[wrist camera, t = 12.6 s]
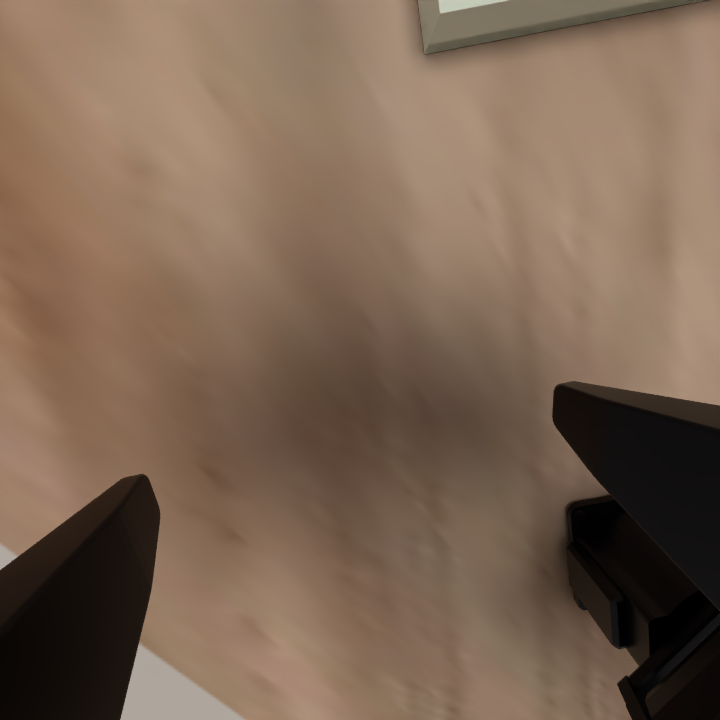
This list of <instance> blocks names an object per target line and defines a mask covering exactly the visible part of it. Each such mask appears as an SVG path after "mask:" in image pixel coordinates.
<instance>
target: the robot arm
mask: <svg viewBox="0 0 720 720" xmlns="http://www.w3.org/2000/svg"><path fill="white" fill-rule="evenodd" d="M552 417H553V422H554V425H555V427H556V428H557V429H558V431H559V432H560V433H561V435H562V436H563V437H564V439H565V440H566V441H567V442H568V444H569V445H570V446H571V448H572V449H573V450H574V452H575V453H576V454H577V455H578V457H579V458H580V459H581V461H582V462H583V463H584V465H585V466H586V467H587V468H588V470H589V471H590V472H591V473H592V475H593V476H594V477H595V478H596V479H597V480H598V482H599V483H600V484H601V485H602V486H603V487H604V488H605V489H606V490H607V491H608V492H609V493H610V495H611V496H608V497H602V498H597V499H591V500H586V501H581V502H575V503H573V504H571V505H570V506H569V507H568V509H567V519H568V530H569V543H568V545H567V547H566V550H567V562H568V573H569V584H570V586H571V588H572V589H573V590H574V599H575V602H576V603H577V605H578V606H579V607H580V608H581V609H582V610H588V612H589V613H590V615H591V616H592V617H593V619H594V620H595V622H596V623H597V624H598V626H599V627H600V629H601V630H602V632H603V633H604V634H605V636H606V637H607V639H608V640H609V642H610V643H611V644H612V645H613V646H614V647H616V648H617V649H623V648H626V649H627V650H628V652H629V653H630V655H631V656H632V657H633V659H634V660H635V661H636V663H637V664H638V665H639V667H638V668H637V669H636V670H635V671H634V672H633V673H632V674H631V675H630V676H629V677H628V676H625V677H624V678H623V679H622V680H621V681H620V682H619V683H618V684H617V685H618V687H619V690H620V692H621V694H622V696H623V698H624V701H625V703H626V707H627V709H628V712H629V714H630V716H631V718H632V720H720V406H719V405H713V404H707V403H701V402H695V401H689V400H683V399H677V398H671V397H665V396H659V395H653V394H647V393H641V392H635V391H629V390H623V389H617V388H611V387H605V386H599V385H593V384H587V383H582V382H576V381H572V382H567V383H562V384H558V385H557V386H556V387H555V389H554V395H553V413H552ZM578 511H581V512H580V513H579V514H578V515H576V513H577V512H578ZM159 525H160V509H159V505H158V502H157V500H156V497H155V494H154V491H153V489H152V486H151V483H150V481H149V478H148V477H147V476H146V475H144V474H139V475H134V476H129V477H125V478H122V479H121V480H120V481H118V482H117V483H116V484H114V485H113V486H112V487H110V488H109V489H108V490H106V491H105V492H104V493H102V494H101V495H100V496H98V497H97V498H96V499H94V500H93V501H92V502H90V503H89V504H88V505H86V506H85V507H84V508H82V509H81V510H80V511H78V512H77V513H76V514H74V515H73V516H72V517H70V518H69V519H68V520H66V521H65V522H64V523H62V524H61V525H60V526H58V527H57V528H56V529H54V530H53V531H52V532H50V533H49V534H48V535H46V536H45V537H44V538H42V539H41V540H40V541H38V542H37V543H36V544H34V545H33V546H32V547H30V548H29V549H28V550H26V551H25V552H24V553H22V554H21V555H20V556H18V557H17V558H16V559H14V560H13V561H12V562H11V563H9V564H8V565H6V566H5V567H4V568H2V569H1V570H0V720H120V718H121V714H122V710H123V706H124V702H125V698H126V693H127V689H128V685H129V681H130V677H131V673H132V668H133V665H134V660H135V657H136V652H137V648H138V644H139V640H140V636H141V632H142V628H143V624H144V619H145V615H146V611H147V607H148V603H149V598H150V594H151V589H152V582H153V575H154V566H155V558H156V550H157V541H158V533H159Z"/></svg>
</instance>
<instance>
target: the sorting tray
mask: <svg viewBox="0 0 720 720" xmlns="http://www.w3.org/2000/svg"><path fill="white" fill-rule="evenodd" d="M700 1H705V0H418V8H419V15H420V23H421V30H422V38H423V45H424V53H425V54H429V53H435V52H440V51H445V50H450V49H456V48H461V47H466V46H471V45H476V44H482V43H487V42H492V41H497V40H502V39H508V38H513V37H518V36H523V35H528V34H534V33H539V32H544V31H549V30H554V29H560V28H565V27H570V26H575V25H580V24H586V23H591V22H596V21H601V20H606V19H612V18H617V17H622V16H627V15H632V14H638V13H643V12H648V11H653V10H659V9H664V8H669V7H674V6H679V5H685V4H690V3H695V2H700Z"/></svg>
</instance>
